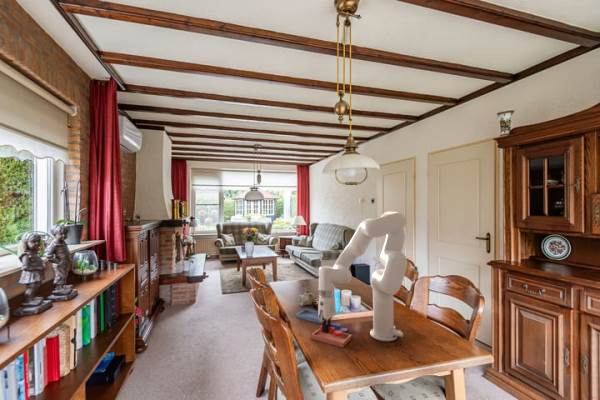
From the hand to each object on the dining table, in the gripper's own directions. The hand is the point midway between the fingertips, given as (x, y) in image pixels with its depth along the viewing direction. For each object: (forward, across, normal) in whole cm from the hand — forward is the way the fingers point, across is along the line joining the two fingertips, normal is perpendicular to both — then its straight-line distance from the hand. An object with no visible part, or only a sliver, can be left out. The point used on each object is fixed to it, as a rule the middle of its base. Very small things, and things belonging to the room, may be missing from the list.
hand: (326, 331), depth 134 cm
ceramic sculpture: (+3, +34, +30) cm, 46 cm away
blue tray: (+3, +18, +17) cm, 25 cm away
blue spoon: (+3, +10, -1) cm, 11 cm away
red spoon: (0, 0, -2) cm, 2 cm away
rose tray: (+3, 0, -3) cm, 4 cm away
